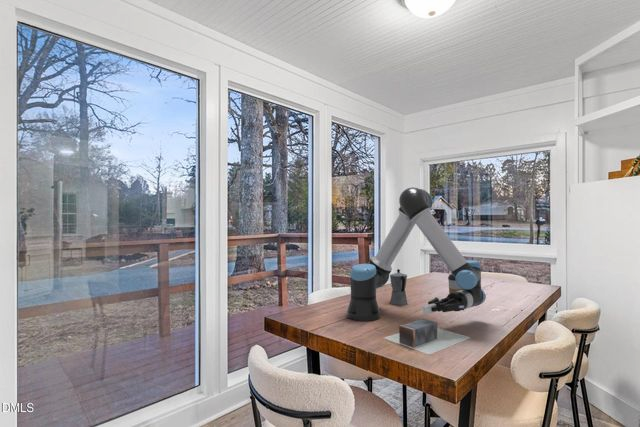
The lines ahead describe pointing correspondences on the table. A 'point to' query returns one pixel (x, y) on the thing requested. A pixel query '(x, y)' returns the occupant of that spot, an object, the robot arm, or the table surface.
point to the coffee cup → (453, 284)
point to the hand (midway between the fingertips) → (424, 310)
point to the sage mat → (434, 341)
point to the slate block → (417, 332)
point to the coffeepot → (398, 288)
